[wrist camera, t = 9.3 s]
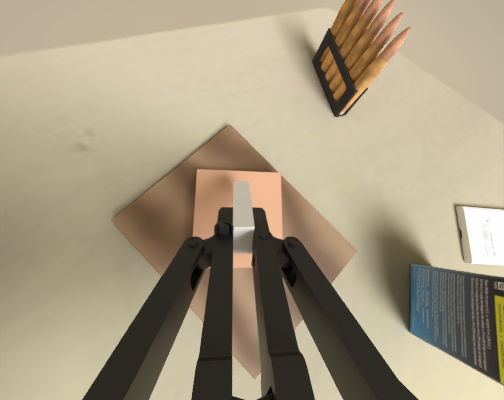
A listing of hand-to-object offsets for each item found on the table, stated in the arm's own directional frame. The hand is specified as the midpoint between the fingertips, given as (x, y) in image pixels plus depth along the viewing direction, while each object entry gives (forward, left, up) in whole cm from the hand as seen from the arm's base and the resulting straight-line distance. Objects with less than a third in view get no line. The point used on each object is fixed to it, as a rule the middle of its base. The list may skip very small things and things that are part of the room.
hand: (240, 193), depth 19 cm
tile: (-5, -5, -4) cm, 9 cm away
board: (-3, -3, -6) cm, 7 cm away
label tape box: (+9, -26, -6) cm, 28 cm away
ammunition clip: (+24, +4, -6) cm, 25 cm away
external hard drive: (+25, -30, -7) cm, 40 cm away
